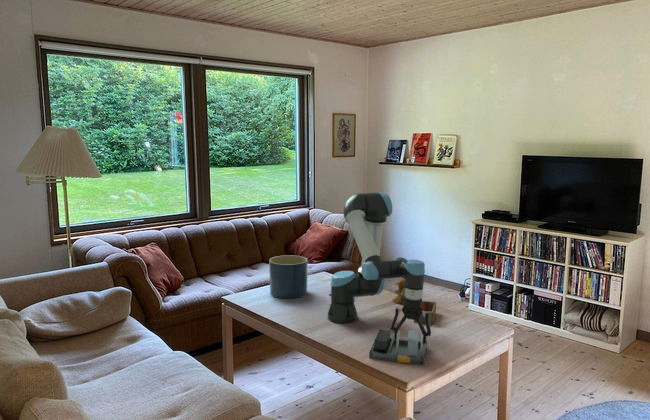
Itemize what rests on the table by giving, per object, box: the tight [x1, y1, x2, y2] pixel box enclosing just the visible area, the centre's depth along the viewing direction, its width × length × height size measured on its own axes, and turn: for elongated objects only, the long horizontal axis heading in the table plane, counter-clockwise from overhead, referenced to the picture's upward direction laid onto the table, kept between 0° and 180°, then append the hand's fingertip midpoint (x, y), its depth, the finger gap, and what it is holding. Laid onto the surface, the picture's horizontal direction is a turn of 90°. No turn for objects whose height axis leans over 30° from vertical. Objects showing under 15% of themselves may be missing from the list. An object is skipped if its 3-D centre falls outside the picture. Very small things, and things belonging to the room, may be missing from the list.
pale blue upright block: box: [407, 330, 420, 357], centre depth 207 cm, size 4×12×7 cm, turn 168°
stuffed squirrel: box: [391, 278, 405, 305], centre depth 271 cm, size 10×14×13 cm
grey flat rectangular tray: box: [368, 328, 428, 366], centre depth 208 cm, size 22×18×7 cm
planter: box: [268, 254, 309, 300], centre depth 286 cm, size 22×22×20 cm
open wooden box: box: [413, 300, 437, 325], centre depth 250 cm, size 9×16×6 cm, turn 164°
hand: (409, 348), depth 208 cm, fingers open, 9 cm apart
